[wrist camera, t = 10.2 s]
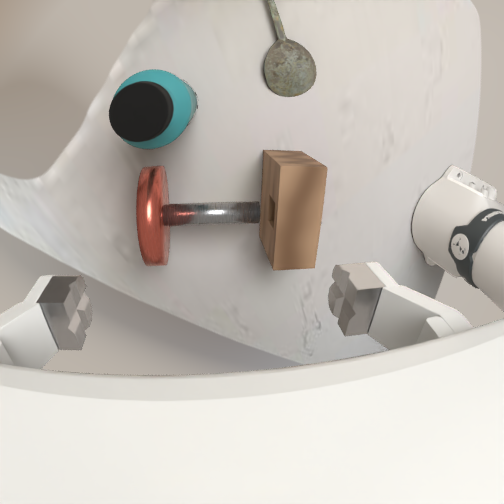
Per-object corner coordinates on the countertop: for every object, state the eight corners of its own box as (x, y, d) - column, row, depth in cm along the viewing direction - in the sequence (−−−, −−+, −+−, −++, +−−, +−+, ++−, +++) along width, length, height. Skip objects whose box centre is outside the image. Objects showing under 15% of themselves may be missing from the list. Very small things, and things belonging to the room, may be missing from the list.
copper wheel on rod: (252, 155, 37) (270, 177, 28) (249, 235, 43) (264, 280, 33) (150, 158, 36) (132, 181, 26) (157, 239, 41) (145, 285, 31)
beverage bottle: (208, 111, 35) (213, 125, 18) (161, 140, 36) (123, 183, 18) (181, 68, 32) (159, 39, 14) (134, 98, 33) (70, 103, 15)
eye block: (301, 151, 39) (327, 167, 31) (293, 234, 45) (314, 268, 37) (263, 150, 38) (280, 165, 30) (259, 235, 44) (273, 270, 36)
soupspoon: (267, 102, 37) (314, 93, 37) (275, 104, 34) (325, 94, 34) (227, -44, 25) (276, -49, 25) (231, -54, 22) (284, -58, 23)
